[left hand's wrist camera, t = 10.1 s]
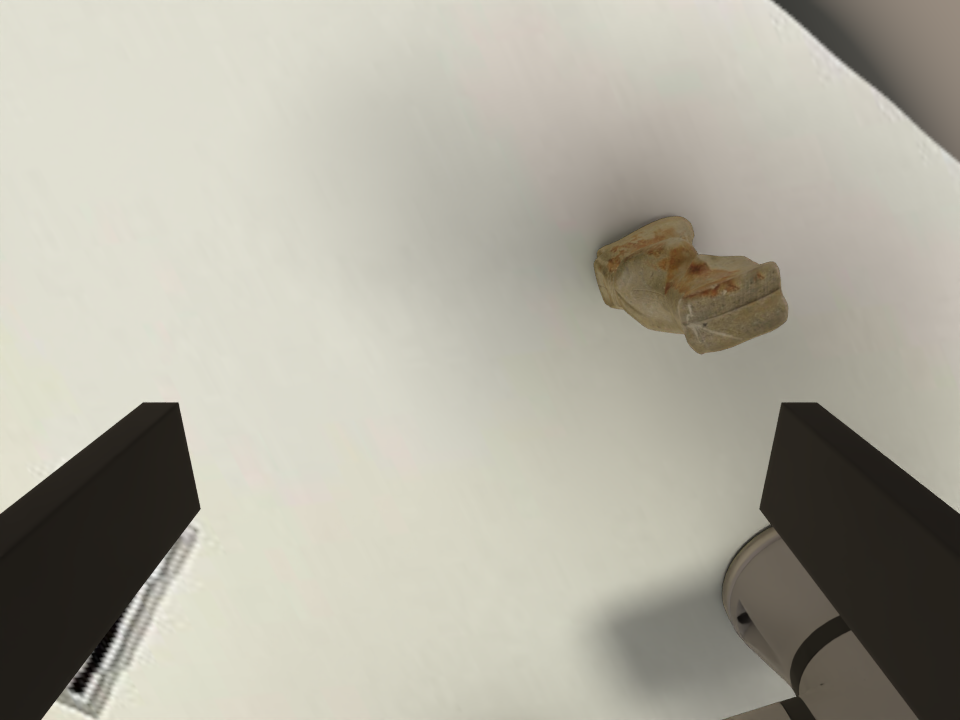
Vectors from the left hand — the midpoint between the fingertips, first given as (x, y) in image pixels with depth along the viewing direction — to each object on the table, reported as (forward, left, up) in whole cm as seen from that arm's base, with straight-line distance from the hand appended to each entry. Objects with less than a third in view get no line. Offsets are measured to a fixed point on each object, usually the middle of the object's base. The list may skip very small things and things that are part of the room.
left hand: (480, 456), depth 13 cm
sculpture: (-10, -5, -30) cm, 32 cm away
